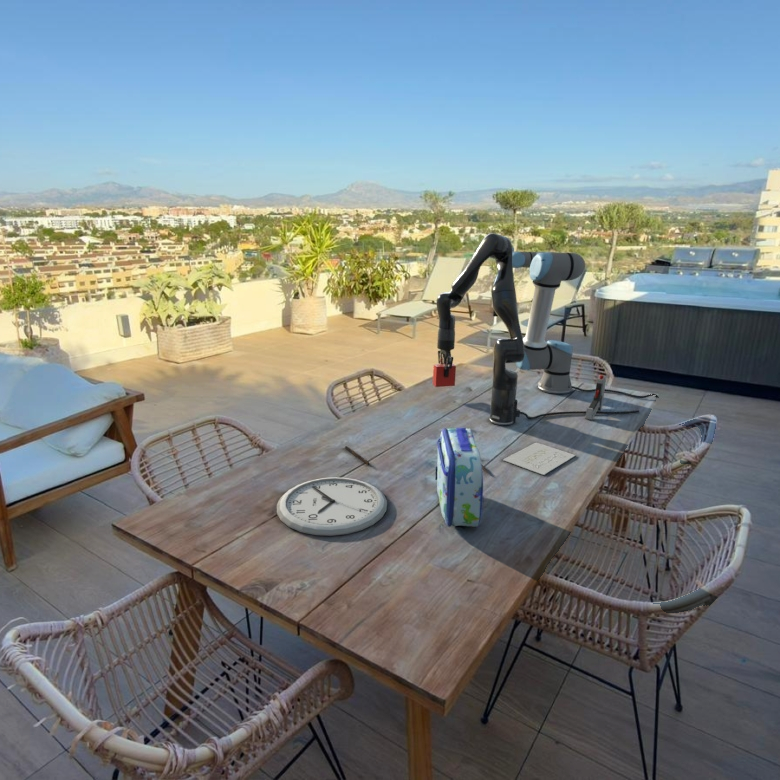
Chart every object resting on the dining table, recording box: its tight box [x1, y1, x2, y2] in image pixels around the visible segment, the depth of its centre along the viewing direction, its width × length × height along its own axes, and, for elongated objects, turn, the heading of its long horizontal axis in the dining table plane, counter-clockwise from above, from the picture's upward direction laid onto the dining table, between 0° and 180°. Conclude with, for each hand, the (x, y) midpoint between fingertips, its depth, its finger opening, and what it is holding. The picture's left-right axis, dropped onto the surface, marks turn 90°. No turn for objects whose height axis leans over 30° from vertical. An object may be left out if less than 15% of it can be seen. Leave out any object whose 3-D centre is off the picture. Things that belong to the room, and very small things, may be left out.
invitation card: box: [502, 442, 577, 476], centre depth 174 cm, size 21×1×15 cm
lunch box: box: [434, 427, 484, 528], centre depth 139 cm, size 26×11×21 cm, turn 179°
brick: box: [432, 363, 457, 388], centre depth 235 cm, size 4×9×9 cm, turn 105°
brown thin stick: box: [344, 445, 370, 465], centre depth 173 cm, size 15×1×1 cm, turn 34°
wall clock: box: [276, 476, 388, 537], centre depth 142 cm, size 30×2×30 cm
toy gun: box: [585, 374, 606, 421], centre depth 213 cm, size 2×16×15 cm
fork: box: [482, 465, 488, 474], centre depth 169 cm, size 3×16×2 cm, turn 15°
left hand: (444, 375), depth 235 cm, fingers closed on brick, 4 cm apart
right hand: (501, 318), depth 277 cm, fingers open, 13 cm apart
